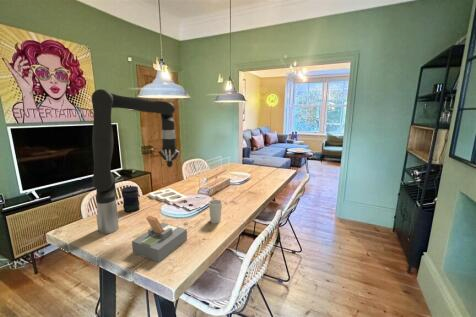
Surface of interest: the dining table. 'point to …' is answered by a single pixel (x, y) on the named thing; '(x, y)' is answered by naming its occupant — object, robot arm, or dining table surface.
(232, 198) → the dining table surface
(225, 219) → the dining table surface
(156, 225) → the handle
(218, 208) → the cup
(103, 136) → the robot arm
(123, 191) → the storage jar
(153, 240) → the box
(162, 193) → the holder
